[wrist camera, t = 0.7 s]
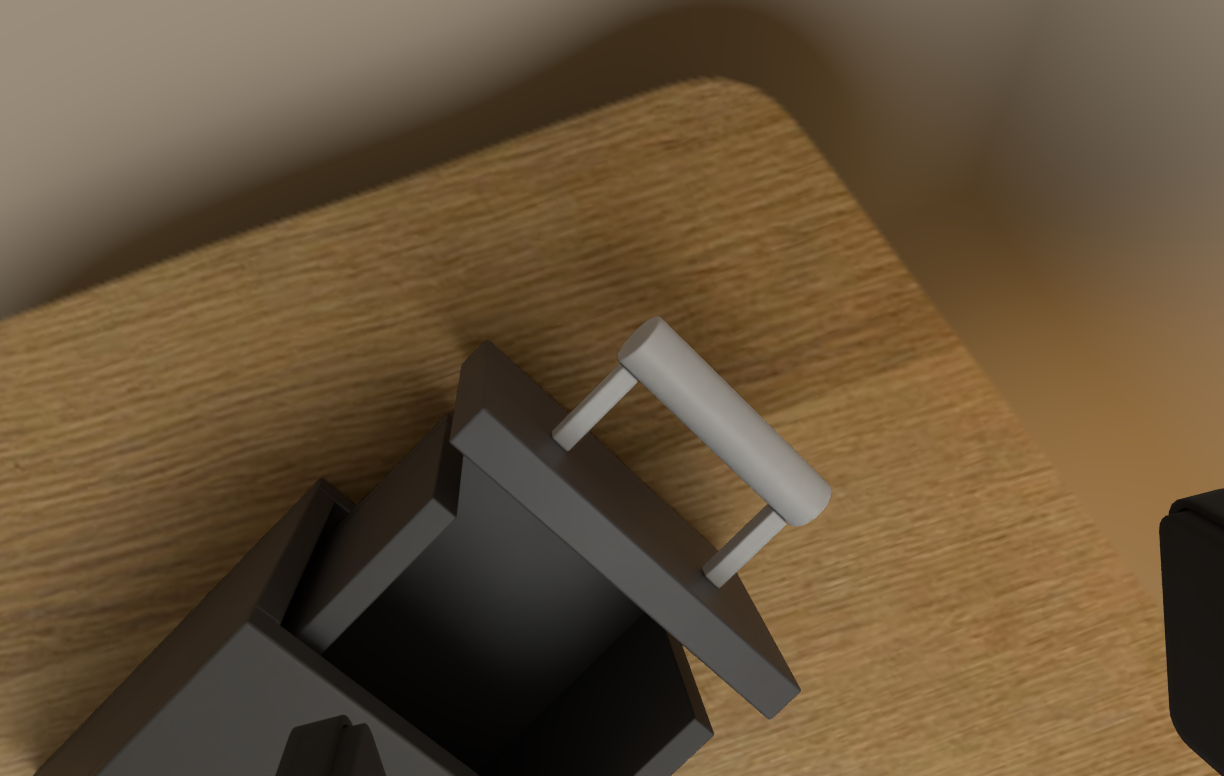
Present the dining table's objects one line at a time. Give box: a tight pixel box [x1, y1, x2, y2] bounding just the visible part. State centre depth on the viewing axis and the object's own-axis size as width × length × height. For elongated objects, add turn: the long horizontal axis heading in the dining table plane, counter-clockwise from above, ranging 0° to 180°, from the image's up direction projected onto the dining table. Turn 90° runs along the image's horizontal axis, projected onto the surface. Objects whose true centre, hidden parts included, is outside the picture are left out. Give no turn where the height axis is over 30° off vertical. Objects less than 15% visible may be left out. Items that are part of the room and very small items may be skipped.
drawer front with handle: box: [280, 316, 831, 776], centre depth 28 cm, size 18×11×8 cm, turn 135°
